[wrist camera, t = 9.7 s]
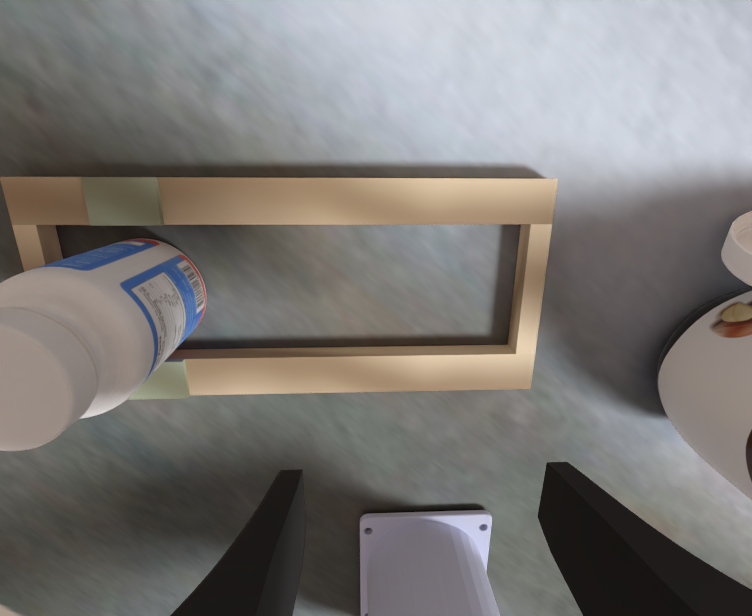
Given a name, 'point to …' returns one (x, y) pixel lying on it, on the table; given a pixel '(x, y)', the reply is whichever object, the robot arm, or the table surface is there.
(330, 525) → the table surface
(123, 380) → the pill bottle
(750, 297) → the spread jar
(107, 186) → the open wooden frame
